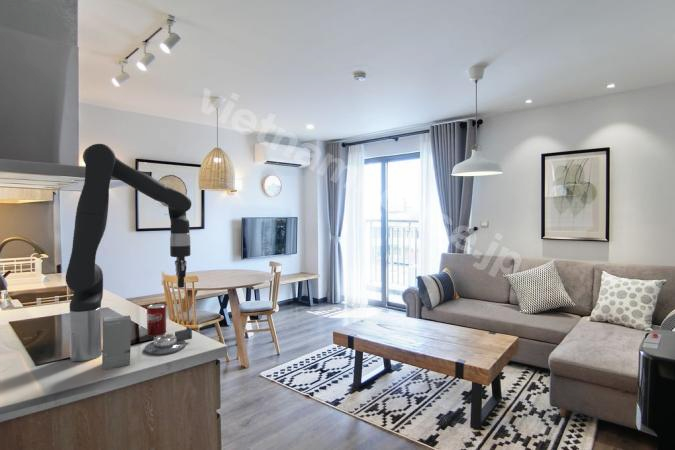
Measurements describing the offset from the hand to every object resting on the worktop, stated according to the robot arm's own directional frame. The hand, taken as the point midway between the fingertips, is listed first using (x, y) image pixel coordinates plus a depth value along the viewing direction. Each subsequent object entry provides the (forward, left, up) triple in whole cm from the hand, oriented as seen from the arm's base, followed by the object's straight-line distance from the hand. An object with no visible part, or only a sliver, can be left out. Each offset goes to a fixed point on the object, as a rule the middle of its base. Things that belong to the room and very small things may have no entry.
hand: (181, 287), depth 152 cm
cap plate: (-8, -7, -21) cm, 24 cm away
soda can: (-6, +12, -21) cm, 25 cm away
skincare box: (-25, -12, -21) cm, 35 cm away
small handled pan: (-5, -7, -20) cm, 21 cm away
